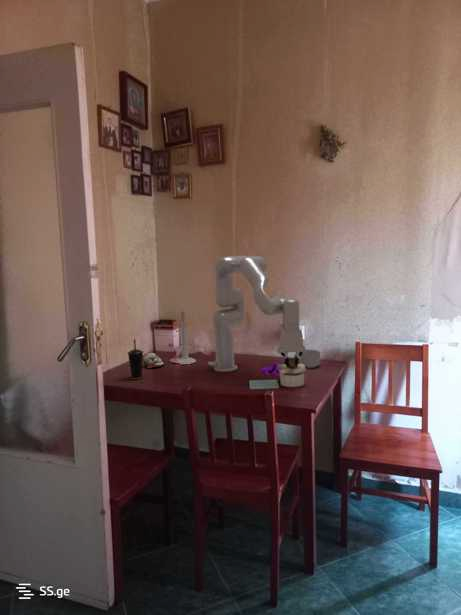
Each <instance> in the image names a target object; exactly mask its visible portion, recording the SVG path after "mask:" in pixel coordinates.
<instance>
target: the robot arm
mask: <svg viewBox="0 0 461 615" xmlns="http://www.w3.org/2000/svg"><path fill="white" fill-rule="evenodd" d="M266 270H267V262H266V260H265V259H264V257H262V256H259V255H228V256H223V257H221V258H218V260H216V262H215V263H214V275H215V303H216V305H217V306H218V307H219V308H222V309H219V310H216V311H214V313H213V315H212V325H213V328H214V329H213V330H214V340H215V341H214V342H215V343H214V344H215V360H214V361H208V362H207V366H209V367H213V370H214V371H215V372H219V373H225V372H226V373H227V372H229V373H230V372H233V371H234V372H235V371H236V370H238V365H237V364H235V349H234V348H235V346H234V333H233V332H232V330H231V327H235V326H239V325H241V324H242V323H243V321H244V317H245V316H244V315H245V296H244V292H243V290H242V289H241V288H239V287H236V286H234V287H233V279H232V276H231V274H238V273H239V274H240V273H241V274H243V275H244V277H245V278H246V280H247V282H248V283H249V284H250V285H251V287H252V288H253V292H252V294H253V301H254V302H255V304H256V306H257V307H258V308H259V310H260V311H261V312H262V314H264V315H266V316H275V315H280V314H282V318H281V319H282V322H281V323H280V324H279V326H278V327H279V328H281V330H280V336H279V345H278V347H277V349H276V353H277V354H279V355H281V356H282V357H283V359H284V364H285V365H286V366H287V367H288V358H289V357H288V353H296V357H295V359H296V367H297V365H298V364H300V363H299V360H300V356H301V355H302V354H303V353H305V352H306V351H307V349H306V347H305V346H304V338H303V332H302V331H303V330H302V329H301V328H300V301H299V300H298V299H297V298H286V297H283V296H282V297H281V296H280V297H272V298H270V297H269V296H268V295H267V294H266V292H265V291H264V288H265V287H266V286H267V285H268V283H269V277H268V276H267V274H266V273H265V271H266ZM227 307H228V308H227ZM223 308H224V309H223Z"/></svg>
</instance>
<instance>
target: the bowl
mask: <svg viewBox="0 0 461 615" xmlns="http://www.w3.org/2000/svg"><path fill="white" fill-rule="evenodd" d="M279 374H280V373H279ZM279 377H280V386H283V387H289V388H297V387H301V386H304V384H305V373H285V374H280V376H279Z"/></svg>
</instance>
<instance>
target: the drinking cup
mask: <svg viewBox="0 0 461 615" xmlns="http://www.w3.org/2000/svg"><path fill="white" fill-rule="evenodd" d="M133 346H134V349H131V350H129V351H128V352H127V355H128V362H129V368H130V373H131V379H132V378H139V377H142V378H143V360H144V357H143V354H144V351H143V350H141V349H137V348H136V347H137V346H136V339H133Z"/></svg>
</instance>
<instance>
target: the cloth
mask: <svg viewBox="0 0 461 615" xmlns="http://www.w3.org/2000/svg"><path fill="white" fill-rule="evenodd" d="M278 364H280V363H278V362H275V363H273V364H272V365H271V366H266V367H263V368H260V369H259V371H260V372H264V373H263V374H264V375H267V376H270V375H271V374H272V375H275V376H279V377H280V373H279V370H278ZM270 373H271V374H270Z"/></svg>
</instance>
